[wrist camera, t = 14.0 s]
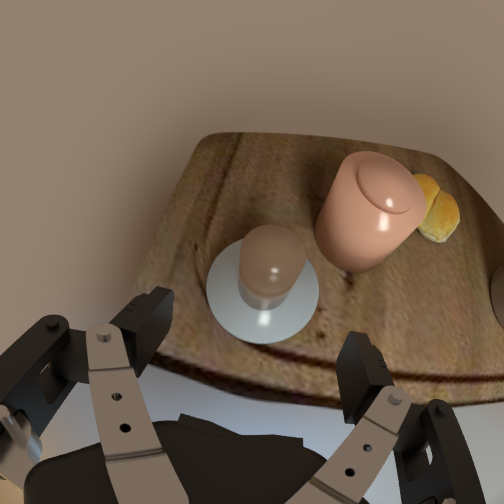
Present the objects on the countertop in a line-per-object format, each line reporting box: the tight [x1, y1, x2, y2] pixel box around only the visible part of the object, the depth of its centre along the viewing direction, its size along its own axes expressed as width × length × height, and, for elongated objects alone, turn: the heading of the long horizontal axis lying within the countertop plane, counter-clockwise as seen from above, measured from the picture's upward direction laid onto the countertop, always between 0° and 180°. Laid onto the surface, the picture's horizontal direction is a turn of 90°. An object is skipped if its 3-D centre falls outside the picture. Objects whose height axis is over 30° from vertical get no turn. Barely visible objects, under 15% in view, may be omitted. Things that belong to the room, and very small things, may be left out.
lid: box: [206, 224, 319, 344], centre depth 20 cm, size 9×9×8 cm
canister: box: [314, 151, 426, 273], centre depth 23 cm, size 8×8×9 cm
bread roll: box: [413, 174, 460, 243], centre depth 28 cm, size 8×9×4 cm
